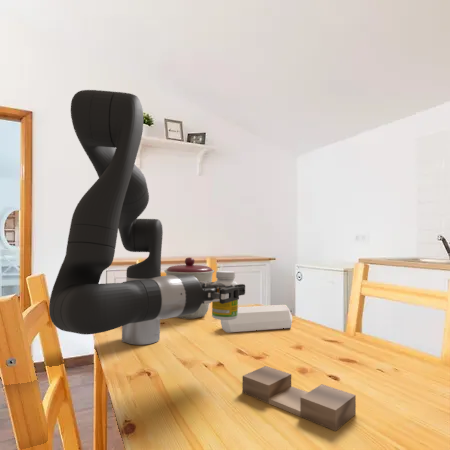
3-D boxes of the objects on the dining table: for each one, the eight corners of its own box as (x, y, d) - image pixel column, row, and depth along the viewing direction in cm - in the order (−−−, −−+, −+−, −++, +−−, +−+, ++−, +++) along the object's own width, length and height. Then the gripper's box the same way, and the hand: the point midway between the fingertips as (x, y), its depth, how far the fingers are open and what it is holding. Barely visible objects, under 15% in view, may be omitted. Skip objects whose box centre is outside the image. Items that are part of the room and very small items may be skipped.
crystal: (283, 310, 117) (215, 314, 110) (292, 303, 112) (221, 307, 105) (288, 332, 114) (218, 338, 107) (298, 326, 108) (224, 331, 101)
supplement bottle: (235, 321, 70) (236, 273, 70) (209, 319, 71) (210, 272, 71) (239, 315, 75) (240, 270, 75) (215, 313, 76) (216, 269, 77)
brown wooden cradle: (335, 431, 51) (335, 410, 51) (242, 392, 63) (242, 375, 63) (355, 414, 56) (355, 395, 56) (265, 381, 68) (265, 365, 68)
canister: (186, 324, 112) (187, 259, 113) (153, 315, 125) (154, 257, 125) (224, 315, 125) (224, 257, 126) (191, 308, 138) (191, 255, 139)
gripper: (197, 279, 58) (259, 273, 70) (149, 272, 68) (210, 267, 80) (196, 324, 58) (259, 310, 70) (148, 310, 68) (210, 300, 80)
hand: (233, 287), depth 75 cm, fingers closed on supplement bottle, 5 cm apart
